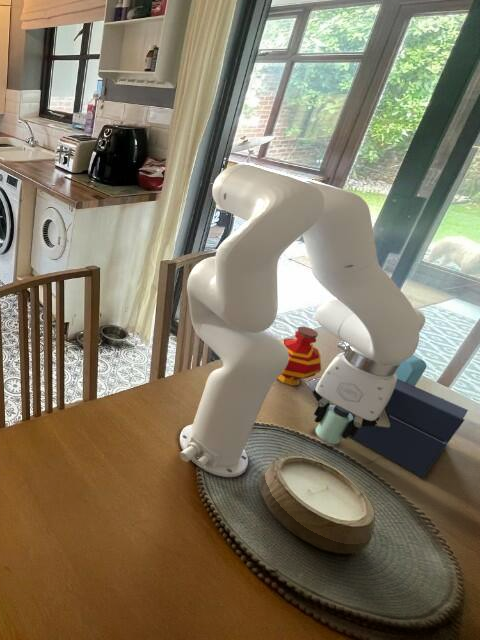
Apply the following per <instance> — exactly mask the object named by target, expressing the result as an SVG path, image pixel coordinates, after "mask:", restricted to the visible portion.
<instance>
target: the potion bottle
mask: <svg viewBox="0 0 480 640" xmlns="http://www.w3.org/2000/svg"><path fill="white" fill-rule="evenodd" d="M294 336H295V338H283V339H280V340H281V341H282V342H283V344H284V345H285V346H286V348H287V350H288V353H289V362H288V364H287V366H286V368H285V369H284V371H283V372H282V373H281V374H280V376H279V377H278V378H277V380H279V381H280V382H281V383H283V384H287V385H290V386H297V385H300V381H299V380H302V379H303V380H304V379H309V378H312V377H314V376H316V374H319V373H320V372H321V371H322V359H321V354H320V351H319V349H318V348H316V347H315V346H314V345H313V344H314V343H316V342H317V337H318V336H319V333H318V331H316V330H315V329H313V328H311V327H306V326H298V327H297V331H295V332H294Z"/></svg>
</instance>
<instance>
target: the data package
mask: <svg viewBox="0 0 480 640" xmlns="http://www.w3.org/2000/svg"><path fill="white" fill-rule="evenodd" d="M426 369H427V363H426V362H425V360H424V359H422V358H421V357H418V356H417V355H415V354H413V355H412V356H411V357H410V358H408V359H407V360H405V361H404V362H401V364H400V365H399V367H398V369H397V370H396V372H395V374H396V375H397V379H399V380H401V381H404V382H406V383H408V384H410V385H413V386H415V387H416V386H417V384H418V382H419V380H420V379H421V377H422V375H423V374H424V372H425V371H426Z"/></svg>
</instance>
